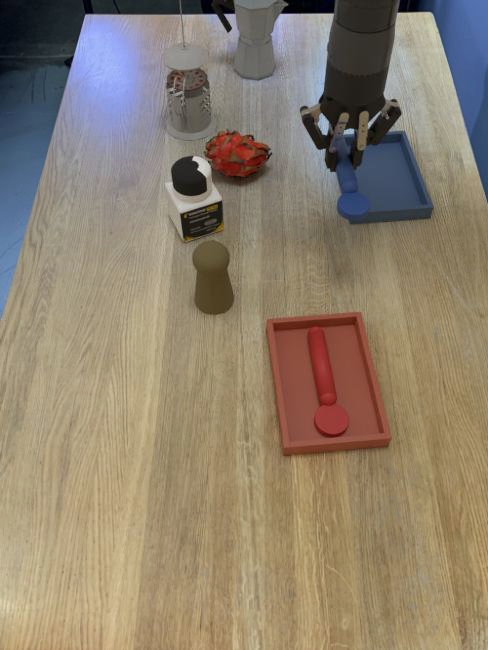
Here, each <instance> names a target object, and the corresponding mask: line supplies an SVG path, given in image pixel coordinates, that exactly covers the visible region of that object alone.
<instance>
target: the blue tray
mask: <svg viewBox="0 0 488 650" xmlns="http://www.w3.org/2000/svg"><path fill="white" fill-rule="evenodd" d="M343 136H344V138H345V142H346V145H347V148H348V152H349V154H350V148H351V141H354V133H346V134H345V133H344V134H343ZM354 172H355V175H356V179H357V182H358V186H359V187H358V191H357V192H360V193H362V194H364V195H366V196H367V197H368V198H369V200H370V210H369V213H368V215H367V216H366V217H365V218H363V219H361V220H356V221H352V220H348V224H349V225H353V224H354V225H355V224H369V223H381V222H382V223H383V222H395V221H409V220H411V221H412V220H424V219H431V217H432V214H433V211H434V208H435V207H434V204H433V201H432V198H431V196H430V193H429V191H428V189H427V186H426V183H425V180H424V178H423V175H422V173H421V169H420V166H419V164H418V161H417V159H416V157H415V154H414V150H413V148H412V145H411V143H410V141H409V137H408V135H407V132H406V130H392V131H391V130H389V131H388V133H387V134H386V135H385V136H384V138H383V139H382V140H381V142H380V143H379V144H378V145H376V146H373V145H368V146H366V148H365V149H364V152H363V157H362V163H361V165H360V166H357V169H356V170H354ZM335 175H337V173H336V172H335ZM336 178H337V181H338V182H339V180H338V177H337V176H336ZM338 185H339V186H340V184H339V183H338ZM339 189H340V193H341V195H342V194H343V193H342V191H341V188H339Z"/></svg>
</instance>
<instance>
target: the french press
mask: <svg viewBox="0 0 488 650" xmlns="http://www.w3.org/2000/svg"><path fill="white" fill-rule="evenodd" d="M179 12H180V22H181V23H180V24H181V34H182V42H178V43H175V44H173V45H171V46H169V47H168V48H165V50H164V51H163V53H162V54H161V62H162V64H163V65H164V66H165V67H166V68H168V69H169V70H171V71H170V72H169V73H168V75H167V76H166V85H165V89H166V90H165V91H166V98H167V105H168V111H169V112H168V113H169V116H168V118H167V119H166V121H165V128H166V130H167V132H168V134H169V135H171V136H173V138H176V139H179V140H182V141H198V140H202V139H205V138H207V137H209V136H210V135H211V134H213V133H214V131H215V130H216V128H217V127H218V123H217V122H218V120H217V118H216V116H215V115H214V113H212V107H211V106H212V102H211V95H210V94H211V88H210V87H211V86H210V81H209V80H208V74H207V73H206V71H205V70H203V69H202V68H201V67H203V66H204V65H205V64H206V63H207V61H208V60H209V52H208V51H207V49H206V48H205V47H204V46H201V45H200V44H198V43H197V44H196V43H193V42H187V41H185V31H184V21H183V10H182V0H179ZM169 89H172V90H170V91H169ZM205 89H206V90H205ZM181 92H182V93H181ZM178 93H180V94H178ZM176 94H178V95H176Z"/></svg>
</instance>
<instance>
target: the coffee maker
mask: <svg viewBox="0 0 488 650" xmlns="http://www.w3.org/2000/svg"><path fill="white" fill-rule="evenodd" d="M220 5H222V6H224V7H225V8H228V9H230V10H232V11H233V12H234V15H235V16H234V17H235V22H236V23H235V24H236V28H237V31H238V35H239V36H238V39H237V45H236V54H235V59H234V68H233V71H234V72H235V73H236V75H238V76H239V77H240V78H241V79H244V80H253V81H261V80H264V79H266V78H269V77H271V76H273V74H274V72H275V69H276V58H275V52H274V43H273V37H272V33H274V29H275V26H276V25H275V24H276V22H277V21H278V19H279V17H280V15H281V14H282V12H283V10H284V9H285V7H287V6H289V3H288V2H286V1H284V0H212V2H211V8H212V9H213V11H214V13H215V14H216V16H217V18H218V20H219V21H220V23H221V25H222V26H223V28H224V30H225V31H226V33H227V34H229V33H231V32H232V29H233V26H232V25H231V23H230V22H229V20H228V18H227V17H226V15H225V13H224V12H223V9H222V8H221V6H220Z"/></svg>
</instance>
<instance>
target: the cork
mask: <svg viewBox="0 0 488 650" xmlns="http://www.w3.org/2000/svg"><path fill="white" fill-rule="evenodd" d="M191 255H192V256H191V257H192V259H191V261H192V265H193V267H194V269H195V270H196V277H195V287H194V288H195V289H194V301H193V302H194V305H195V307H196V308H197V309H198V311H200V312H202V313H204V314H207V315H213V316H214V315H215V316H216V315H220V314H224V313H226V312H227V311H229V310H230V309H231V307H232V306H233V304H234V301H235V295H234V290H233V285H232V282H231V278H230V274H229V270H228V267H229V265H230V262H231V258H230V257H231V255H230V252H229V249H228V247H226V246H225V244H223V243H221V242H220V241H218V240H214V239H213V240H205V241H201V242H200V243H199V244H198V245H197V246H196V247H195V248H194V250H193V252H192V254H191Z"/></svg>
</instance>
